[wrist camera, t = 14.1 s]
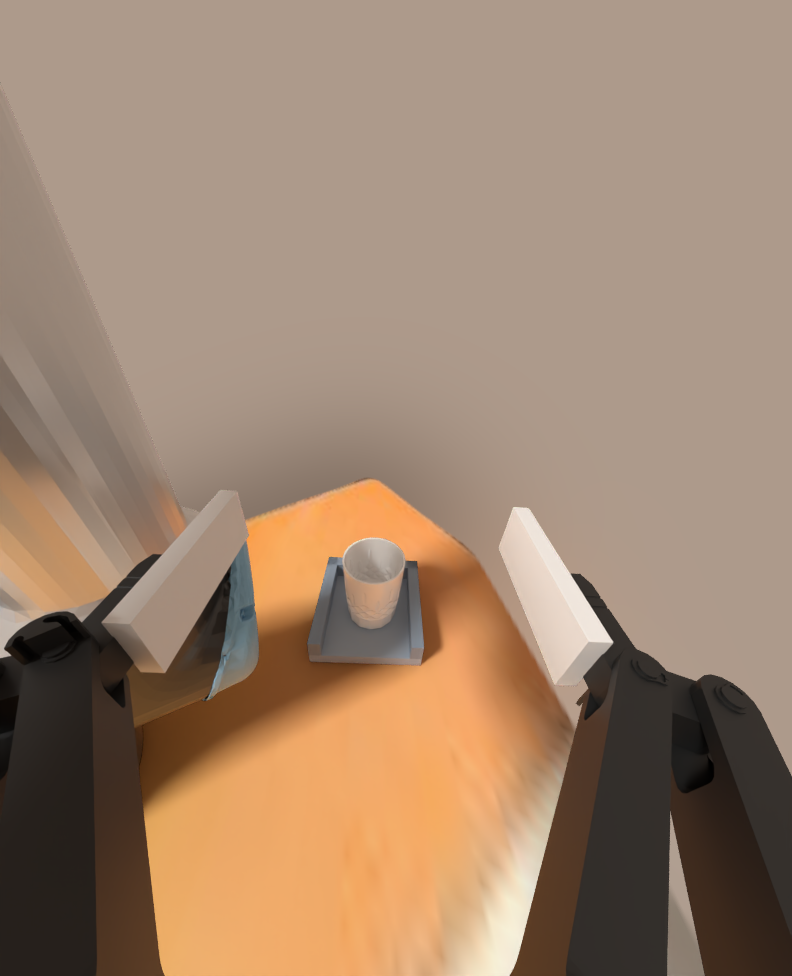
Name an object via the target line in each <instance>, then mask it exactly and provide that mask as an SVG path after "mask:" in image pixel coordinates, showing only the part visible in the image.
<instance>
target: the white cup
mask: <svg viewBox="0 0 792 976" xmlns="http://www.w3.org/2000/svg"><path fill="white" fill-rule="evenodd" d="M342 562H343V572H344V582H345V590H346V598H347V603H348V611H349V614H350V616H351V619H352V620H353V621H354V622H355V623H356V624H357V625H358V626H359V627H363V628H366V629H377V628H382V627H383V626H385V625H386V624H388V623H389V622H390V621H391V619H392V618H393V616H394V614H395V611H396V605H397V602H398V599H399V593H400V589H401V584H402V579H403V573H404V568H405V556H404V553H403V551H402V550H401V549H400V547H398V546H397V545H396V544H395V543H393V542H391V541H389V540H386V539H382V538H365V539H361V540H359V541H357V542H355V543H353V544H352V545H350V546H349V547H348V548H347V550H346V551H345V553H344V555H343V560H342Z"/></svg>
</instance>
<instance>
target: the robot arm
mask: <svg viewBox="0 0 792 976" xmlns="http://www.w3.org/2000/svg"><path fill="white" fill-rule="evenodd" d="M248 536H249V534H248V530H247V526H246V523H245V519H244V515H243V511H242V508H241V504H240V500H239V497H238V492H237V491H228V490H227V491H226V490H220V491H219V492H218V493H217V495H215V497H214V498H213V499H212V500H211V501H210V502H209V503H208V504H207V505H206V507H205V508H204V509H203V510H202V511H201V512H198V511H195V510H192V509H189V508H186V507H181V506H180V504H179V502H178V499H177V497H176V495H175V492H174V490H173V488H172V485H171V483H170V480H169V478H168V476H167V473H166V471H165V469H164V466H163V464H162V462H161V459H160V457H159V455H158V452H157V450H156V447H155V445H154V443H153V440H152V438H151V436H150V433H149V431H148V429H147V426H146V424H145V422H144V419H143V417H142V415H141V412H140V410H139V408H138V405H137V403H136V400H135V398H134V396H133V393H132V391H131V389H130V386H129V384H128V382H127V379H126V377H125V375H124V372H123V370H122V368H121V365H120V363H119V360H118V358H117V356H116V354H115V351H114V349H113V346H112V344H111V342H110V339H109V337H108V335H107V333H106V330H105V328H104V325H103V323H102V321H101V318H100V316H99V313H98V311H97V309H96V306H95V304H94V302H93V300H92V297H91V295H90V292H89V290H88V288H87V285H86V283H85V281H84V278H83V276H82V274H81V271H80V269H79V266H78V264H77V262H76V260H75V257H74V255H73V253H72V250H71V248H70V245H69V243H68V241H67V239H66V236H65V234H64V231H63V229H62V227H61V224H60V222H59V220H58V217H57V215H56V213H55V210H54V208H53V205H52V203H51V201H50V198H49V196H48V194H47V191H46V189H45V187H44V184H43V182H42V180H41V177H40V175H39V173H38V170H37V168H36V165H35V163H34V161H33V159H32V156H31V154H30V151H29V149H28V147H27V144H26V142H25V140H24V137H23V135H22V133H21V130H20V128H19V126H18V123H17V121H16V118H15V116H14V114H13V111H12V109H11V107H10V104H9V102H8V100H7V97H6V95H5V93H4V90H3V88H2V86H1V83H0V976H165V975H164V973H163V971H162V967H161V964H160V957H159V949H158V940H157V931H156V922H155V913H154V904H153V894H152V885H151V876H150V867H149V858H148V849H147V840H146V830H145V821H144V812H143V803H142V794H141V785H140V775H139V764H140V760H141V755H142V749H143V731H142V726H141V725H143V724H146V723H148V722H150V721H153V720H155V719H157V718H160V717H162V716H164V715H167V714H169V713H172V712H174V711H176V710H179V709H181V708H183V707H186V706H188V705H190V704H193V703H195V702H197V701H200V700H202V701H207V700H210V699H212V698H213V697H214V696H215V695H216V694H217V693H218V692H220V691H222V690H224V689H226V688H228V687H230V686H232V685H234V684H237V683H239V682H241V681H243V680H244V679H246V678H247V677H248V676H249V675H250V674H251V673H252V672H253V670H254V669H255V667H256V665H257V663H258V659H259V641H258V629H257V620H256V612H255V608H254V606H255V603H254V591H253V582H252V574H251V566H250V559H249V552H248V546H247V542H246V539H247V538H248ZM498 549H499V551H500V553H501V556H502V558H503V561H504V563H505V566H506V568H507V571H508V573H509V576H510V578H511V580H512V583H513V585H514V588H515V590H516V593H517V595H518V597H519V600H520V602H521V605H522V607H523V610H524V612H525V615H526V617H527V619H528V622H529V624H530V627H531V629H532V632H533V634H534V636H535V639H536V642H537V644H538V646H539V649H540V651H541V654H542V656H543V659H544V661H545V663H546V666H547V668H548V671H549V673H550V676H551V678H552V681H553V683H554V685H555V686H576V685H577V684H578V683H579V682H580V681H581V679H583V678H584V680H585V682H586V684H587V686H588V688H589V689H588V690H587V691H586V692H585V693H584V694H583V695H582V696H581V697H580V698H579V700H578V701H577V703H576V704H577V705H579V706H580V705H581V704H582V703H583V704H582V708H581V712H580V716H579V720H578V724H577V728H576V732H575V736H574V740H573V744H572V747H571V751H570V755H569V759H568V763H567V767H566V771H565V775H564V779H563V783H562V787H561V791H560V795H559V799H558V802H557V806H556V810H555V814H554V818H553V822H552V826H551V830H550V834H549V838H548V842H547V846H546V850H545V854H544V857H543V861H542V865H541V869H540V873H539V877H538V881H537V885H536V889H535V893H534V897H533V901H532V905H531V909H530V912H529V916H528V920H527V924H526V928H525V932H524V936H523V940H522V944H521V948H520V952H519V955H518V959H517V962H516V964H515V967H514V969H513V971H512V973H511V974H510V976H667V946H668V897H669V845H670V811H671V815H672V820H673V825H674V830H675V834H676V839H677V844H678V849H679V853H680V858H681V863H682V868H683V873H684V877H685V882H686V887H687V892H688V897H689V901H690V906H691V911H692V916H693V920H694V925H695V930H696V935H697V940H698V944H699V949H700V954H701V959H702V964H703V968H704V973H705V976H792V776H791V774H790V772H789V770H788V768H787V766H786V764H785V762H784V759H783V757H782V756H781V753H780V751H779V749H778V747H777V745H776V743H775V741H774V739H773V737H772V735H771V733H770V731H769V729H768V727H767V724H766V722H765V720H764V718H763V716H762V714H761V712H760V711H759V709H758V708H757V706H756V705H755V703H754V702H753V701H752V700H751V699H750V698H749V697H748V696H747V695H746V693H745V692H743V691H742V690H741V689H739V688H738V687H737V686H735V685H734V684H733V683H731V682H729V681H727V680H725V679H723V678H722V677H718V676H715V675H704V676H703V677H701V678H700V679H699V680H697V681H694V680H691V679H688V678H685V677H682V676H679V675H676V674H673V673H671V672H668V671H666V670H665V669H664V668H663V667H662V666H661V665H660V664H659V662H657V661H656V660H655V659H654V658H652V657H651V656H649V655H648V654H646V653H644V652H641V651H639V650H637V649H636V648H635V647H634V645H633V644H632V642H631V641H630V640H629V638H628V637H627V635H626V634H625V632H624V631H623V630H622V628H621V626H620V625H619V623H618V622H617V620H616V619H615V618H614V616H613V615H612V613H611V612H610V610H609V609H607V606H606V604H605V603H604V601H603V600H602V599H600V596H599V594H598V593H597V591H596V590H595V588H594V587H593V585H592V584H591V583H590V582H588V581H587V580H586V579H585V578H584V577H583V576H582V575H581V574H570V573H569V571H568V570H567V568H566V567H565V565H564V563H563V562H562V560H561V558H560V557H559V555H558V554H557V552H556V551H555V549H554V547H553V546H552V544H551V543H550V541H549V539H548V538H547V536H546V535H545V533H544V531H543V530H542V528H541V527H540V525H539V524H538V522H537V520H536V519H535V517H534V516H533V514H532V512H531V511H530V509H529V508H519V507H513V509H512V512H511V515H510V518H509V520H508V523H507V526H506V529H505V532H504V534H503V537H502V540H501V543H500V545H499V548H498Z"/></svg>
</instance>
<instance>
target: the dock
mask: <svg viewBox="0 0 792 976" xmlns="http://www.w3.org/2000/svg"><path fill="white" fill-rule="evenodd" d="M342 560H343V558H338V557H329V560H328V564H327V568H326V572H325V575H324V579H323V583H322V587H321V591H320V595H319V599H318V603H317V607H316V611H315V614H314V618H313V622H312V626H311V630H310V634H309V638H308V642H307V647H308V653H309V659H310V662H336V663H365V664H395V665H421V660H422V656H423V651H424V640H423V628H422V616H421V604H420V592H419V579H418V567H417V561H405V568H404V573H403V579H402V584H401V589H400V593H399V599H398V602H397V605H396V611H395V614H394V616H393V618H392V619H391V621H390V622H389V623H388V624H386V625H385V626H383V627H382V628H377V629H366V628H363V627H359V626H358V625H357V624H356V623H355V622H354V621H353V620H352V619H351V616H350V614H349V611H348V603H347V598H346V590H345V582H344V572H343V562H342Z"/></svg>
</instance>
